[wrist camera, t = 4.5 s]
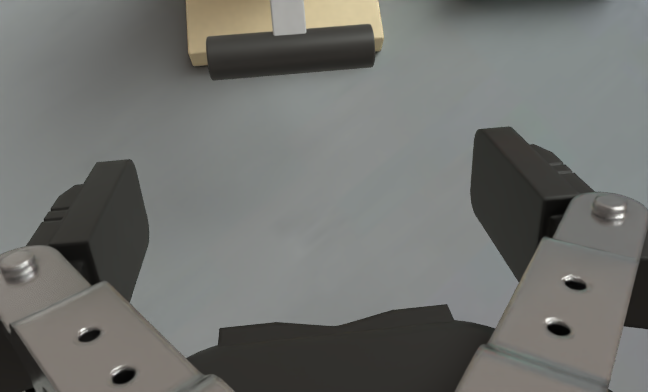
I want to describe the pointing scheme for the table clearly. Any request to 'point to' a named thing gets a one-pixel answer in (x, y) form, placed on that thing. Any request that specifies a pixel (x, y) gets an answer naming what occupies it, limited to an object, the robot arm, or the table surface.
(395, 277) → the table surface
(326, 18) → the bracket
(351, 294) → the table surface
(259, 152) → the table surface
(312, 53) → the lever
